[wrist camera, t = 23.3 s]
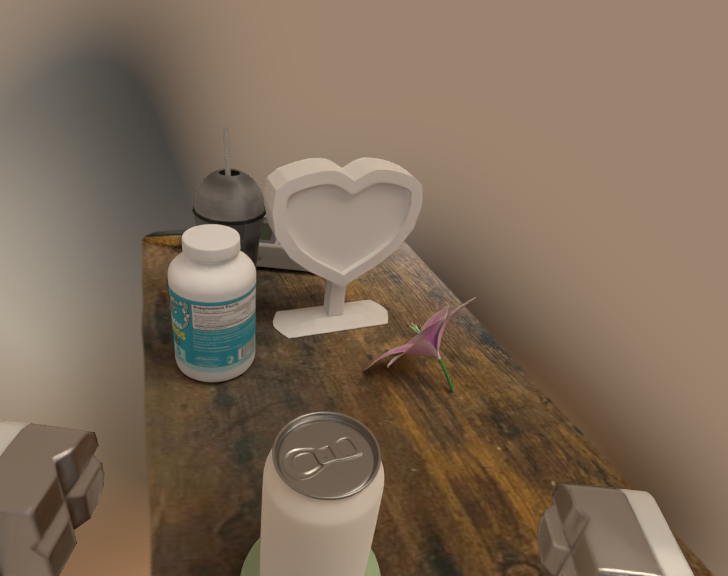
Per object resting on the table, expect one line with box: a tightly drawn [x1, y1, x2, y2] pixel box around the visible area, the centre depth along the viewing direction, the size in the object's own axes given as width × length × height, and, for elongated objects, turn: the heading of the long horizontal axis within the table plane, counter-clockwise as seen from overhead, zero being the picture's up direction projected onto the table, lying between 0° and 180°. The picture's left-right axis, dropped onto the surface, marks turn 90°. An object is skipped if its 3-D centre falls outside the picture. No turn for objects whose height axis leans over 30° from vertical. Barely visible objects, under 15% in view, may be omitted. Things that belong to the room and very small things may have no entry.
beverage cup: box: [192, 128, 266, 269], centre depth 53 cm, size 7×7×20 cm
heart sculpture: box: [263, 157, 423, 338], centre depth 54 cm, size 16×5×18 cm, turn 113°
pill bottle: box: [168, 224, 256, 382], centre depth 46 cm, size 8×7×14 cm
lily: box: [363, 298, 475, 392], centre depth 50 cm, size 12×12×10 cm
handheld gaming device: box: [256, 216, 308, 271], centre depth 68 cm, size 9×15×4 cm, turn 91°
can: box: [260, 411, 384, 576], centre depth 30 cm, size 6×6×12 cm
